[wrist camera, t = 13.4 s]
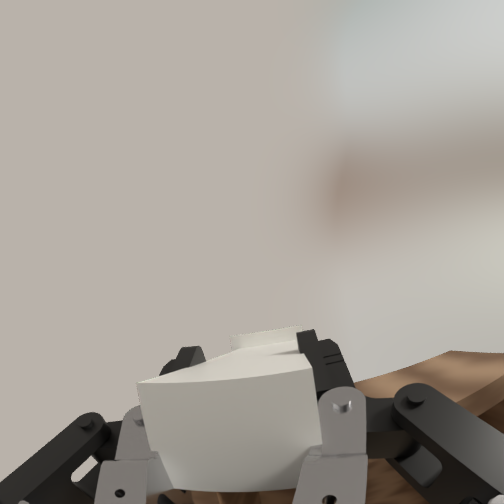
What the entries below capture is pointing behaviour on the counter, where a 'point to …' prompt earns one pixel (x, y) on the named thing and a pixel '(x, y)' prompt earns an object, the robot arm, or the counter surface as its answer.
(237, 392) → the plug
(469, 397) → the walnut shelf
